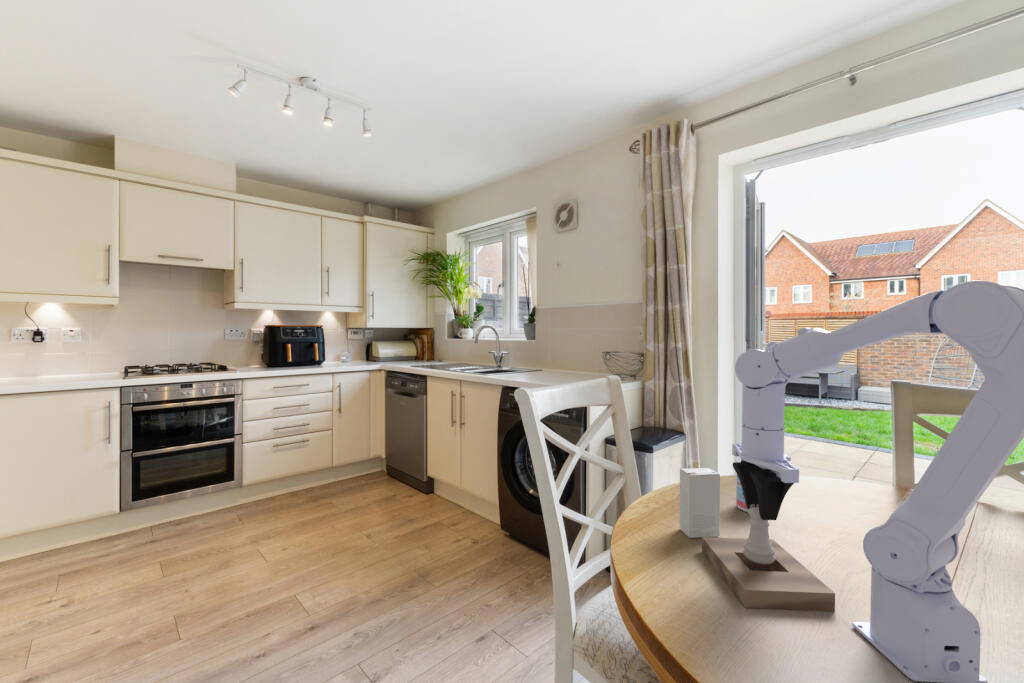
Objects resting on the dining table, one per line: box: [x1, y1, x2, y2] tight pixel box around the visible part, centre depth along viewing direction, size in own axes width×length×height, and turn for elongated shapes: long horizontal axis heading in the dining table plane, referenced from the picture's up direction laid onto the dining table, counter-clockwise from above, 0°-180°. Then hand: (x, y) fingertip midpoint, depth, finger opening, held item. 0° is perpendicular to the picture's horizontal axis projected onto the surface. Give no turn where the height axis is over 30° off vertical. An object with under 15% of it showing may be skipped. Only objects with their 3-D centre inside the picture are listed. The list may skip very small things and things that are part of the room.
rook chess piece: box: [743, 504, 776, 564], centre depth 69 cm, size 4×4×8 cm
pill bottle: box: [735, 458, 749, 513], centre depth 96 cm, size 6×6×11 cm
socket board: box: [701, 537, 836, 612], centre depth 69 cm, size 16×12×2 cm
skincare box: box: [679, 467, 721, 539], centre depth 84 cm, size 6×4×12 cm
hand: (761, 514), depth 69 cm, fingers closed on rook chess piece, 3 cm apart
